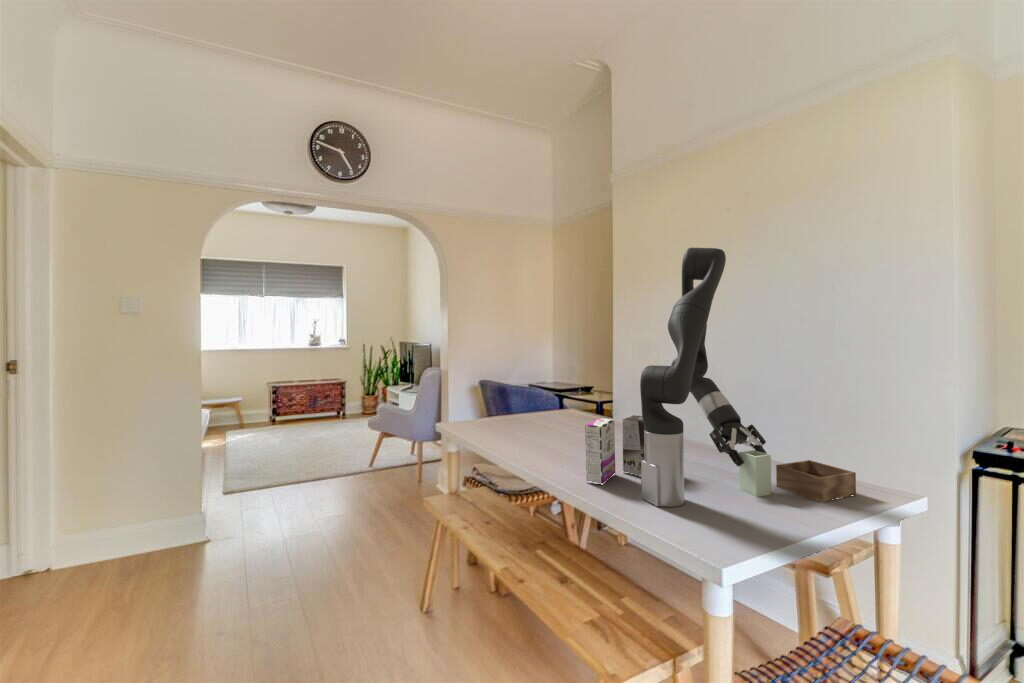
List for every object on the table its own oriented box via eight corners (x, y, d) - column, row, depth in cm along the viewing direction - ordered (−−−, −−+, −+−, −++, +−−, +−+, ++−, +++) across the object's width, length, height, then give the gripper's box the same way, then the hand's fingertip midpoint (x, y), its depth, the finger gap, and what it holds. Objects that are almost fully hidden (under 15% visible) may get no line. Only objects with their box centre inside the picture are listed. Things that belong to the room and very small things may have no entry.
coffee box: (643, 477, 126) (642, 421, 126) (622, 473, 130) (621, 419, 130) (654, 469, 133) (653, 416, 133) (634, 465, 137) (633, 414, 137)
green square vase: (756, 496, 109) (755, 457, 109) (739, 490, 114) (739, 452, 114) (771, 494, 111) (770, 454, 111) (754, 487, 116) (754, 450, 116)
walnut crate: (821, 502, 105) (821, 478, 105) (776, 486, 116) (776, 464, 116) (855, 495, 109) (855, 472, 109) (809, 481, 120) (808, 459, 120)
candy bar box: (599, 472, 131) (598, 417, 131) (616, 474, 129) (615, 419, 128) (585, 483, 122) (584, 424, 122) (602, 486, 119) (601, 426, 119)
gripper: (705, 405, 119) (741, 458, 108) (746, 401, 123) (783, 452, 113) (692, 421, 124) (724, 473, 113) (731, 417, 128) (766, 467, 118)
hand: (754, 462), depth 113 cm, fingers open, 8 cm apart
